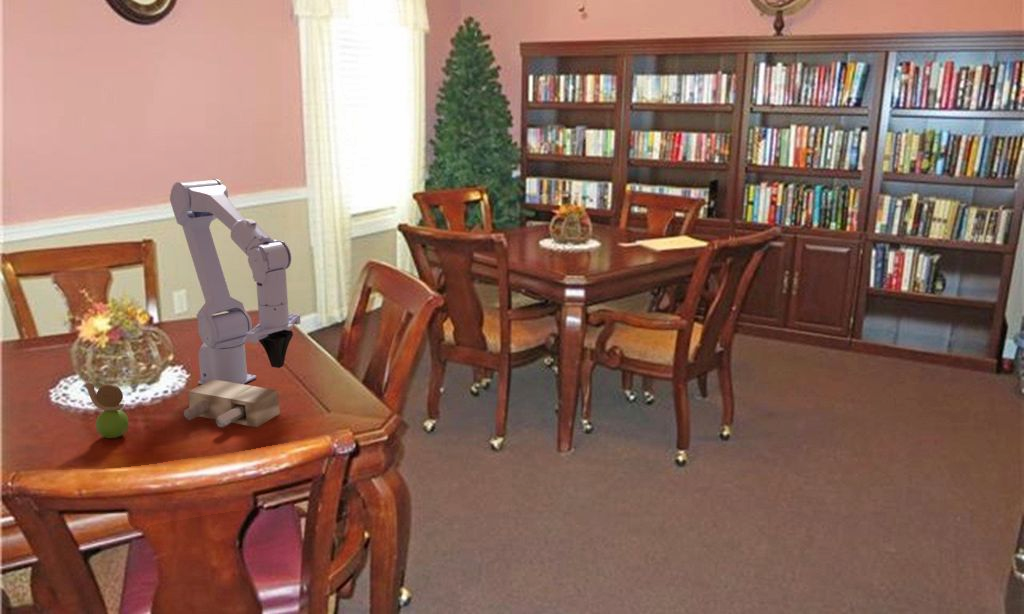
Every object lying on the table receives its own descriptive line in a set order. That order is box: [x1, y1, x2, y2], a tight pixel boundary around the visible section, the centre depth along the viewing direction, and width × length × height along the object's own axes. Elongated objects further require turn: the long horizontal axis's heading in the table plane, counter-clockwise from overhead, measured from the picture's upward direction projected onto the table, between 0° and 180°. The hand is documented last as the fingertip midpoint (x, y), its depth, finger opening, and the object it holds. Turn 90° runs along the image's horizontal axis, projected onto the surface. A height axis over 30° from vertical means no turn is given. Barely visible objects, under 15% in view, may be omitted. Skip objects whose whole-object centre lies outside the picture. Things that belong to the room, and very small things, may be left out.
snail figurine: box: [83, 375, 130, 439], centre depth 142 cm, size 5×6×12 cm
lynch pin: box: [215, 405, 246, 429], centre depth 150 cm, size 4×13×4 cm, turn 159°
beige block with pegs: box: [183, 379, 281, 428], centre depth 152 cm, size 16×12×5 cm
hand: (277, 366), depth 159 cm, fingers closed
